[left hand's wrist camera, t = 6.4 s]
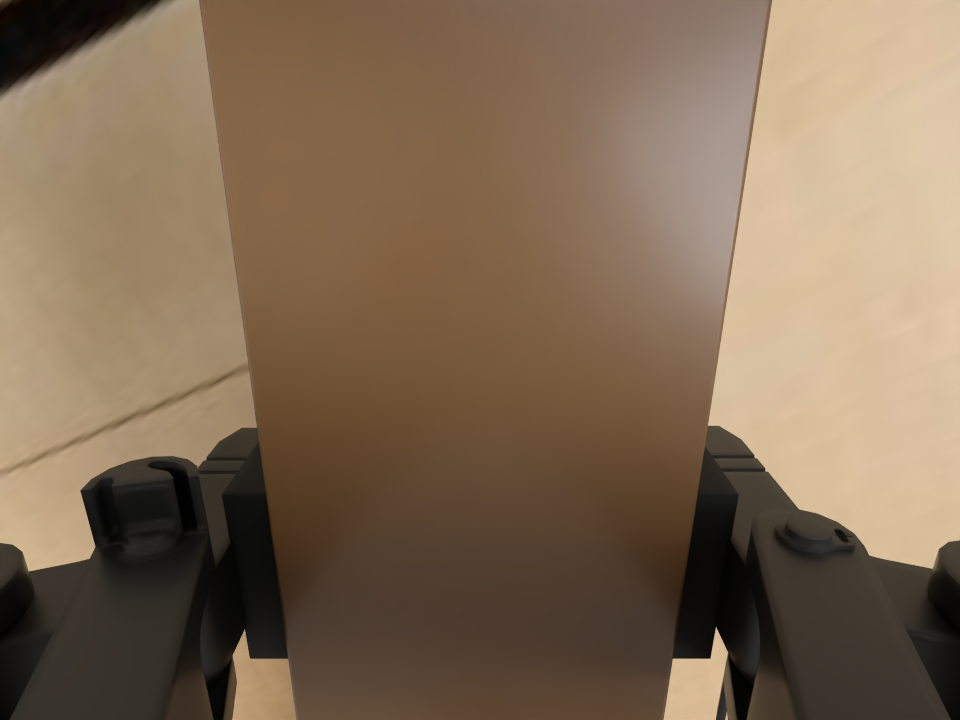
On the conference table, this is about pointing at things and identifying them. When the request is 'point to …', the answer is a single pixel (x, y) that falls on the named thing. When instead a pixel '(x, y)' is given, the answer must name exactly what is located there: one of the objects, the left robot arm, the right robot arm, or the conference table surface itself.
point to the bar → (483, 333)
